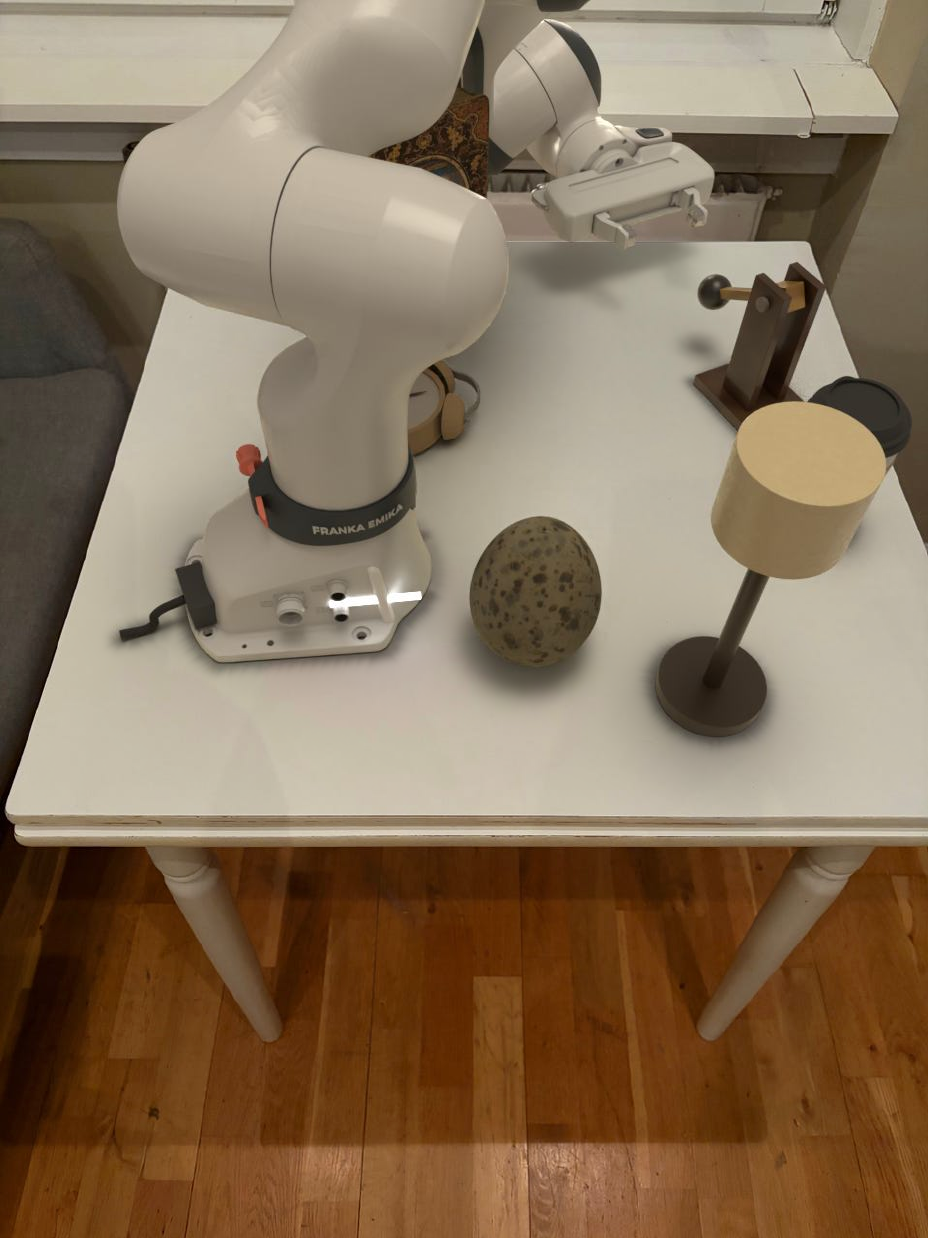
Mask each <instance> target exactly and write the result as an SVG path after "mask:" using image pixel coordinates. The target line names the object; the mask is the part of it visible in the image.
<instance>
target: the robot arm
mask: <svg viewBox="0 0 928 1238" xmlns="http://www.w3.org/2000/svg"><path fill="white" fill-rule="evenodd" d="M590 1H591V0H295V3H294V5H293V7H292V10H291V11H290V14H289V16H288V18H287V20H286V21H285V23H284V25H283V27H282V28H281V30H280V31H279V33H278V34H277V36H276V38H275V39H274V41H272V43H271V44H270V46H269V47H268V49H266V51H265V52H264V53H263V54H262V55H261V56H260V57H259V59H258V60H257V61H256V62H255V63H254V64H253V65H252V66H251V67H250V68H249V70H248V71H247V72H246V73H244V74H243V76H241V77H240V78H239V79H238V80H237V81H236V82H235V83H234V84H233V85H232V86H230V87H229V88H228V89H226V90H225V92H223V93H222V94H221V95H220V96H218V97H217V98H216V99H214V100H213V101H212V102H210V103H208V105H206V106H203V108H200V110H198V111H196V112H195V113H193V114H191V115H189V116H187V117H185V118H183V119H181V120H179V121H177V122H174V123H171V124H168V125H166V126H163V127H160V128H156V129H155V130H153V131H150V132H149V133H147V134H146V135H145V136H144V137H143V138H142V139H141V140H140V141H139V143H138V144H137V145H136V146H135V147H134V149H133V150H132V151H131V153H130V155H129V157H128V158H127V161H126V162H125V164H124V167H123V168H122V171H121V175H120V178H119V182H118V188H117V197H116V212H117V213H116V214H117V223H118V228H119V231H120V236H121V238H122V241H123V245H124V247H125V249H126V251H127V254H128V255H129V257H130V259H131V261H132V263H133V264H134V265H135V267H136V268H137V269H138V270H139V272H141V274H143V275H144V276H146V277H147V278H149V279H150V280H152V281H154V282H156V283H158V284H160V285H162V286H163V287H165V288H168V289H169V290H171V291H173V292H175V293H177V294H179V295H182V296H183V297H186V298H188V299H190V300H192V301H195V302H196V303H199V304H200V305H202V306H205V307H208V308H213V309H215V310H220V311H224V312H229V313H233V314H235V315H241V316H243V317H248V318H253V319H257V320H259V321H260V320H261V321H265V322H269V323H273V324H276V325H281V326H285V327H289V328H290V329H292V330H294V331H296V332H300V333H302V334H303V335H304V336H305V337H304V338H301V339H299V340H298V341H296V342H294V343H292V344H291V345H289V346H288V347H286V348H285V349H283V350H281V351H280V352H279V353H278V354H277V355H276V356H275V357H274V358H273V359H272V360H271V361H270V363H269V364H268V365H267V367H266V368H265V370H264V372H263V374H262V377H261V379H260V383H259V387H258V392H257V398H256V405H257V406H256V407H257V412H258V415H259V420H260V424H261V430H262V434H263V439H264V444H265V448H266V449H265V450H266V453H267V455H266V457H265V458H264V460H262V453H261V450H260V448H259V447H258V446H256V445H255V444H253V443H252V444H251V443H247V444H246V443H245V444H243V445H240V446H239V447H238V448H237V450H236V451H235V459H236V461H237V463H238V470H239V473H241V474H242V475H244V476H246V477H249V478H248V480H247V484H248V485H247V486H248V488H247V489H246V490H244V491H243V492H241V493H240V494H239V495H237V496H236V497H235V498H233V499H232V500H230V501H229V502H227V503H225V504H224V505H223V506H222V507H219V508H218V509H217V510H216V511H214V512H213V513H212V515H211V516H210V517H209V518H208V521H207V522H206V525H205V528H204V530H203V531H204V532H203V537H202V538H199V539H198V540H196V541H195V542H194V543H193V545H192V546H191V548H190V550H189V552H188V554H187V557H186V560H185V562H184V565H183V566H180V567H177V568H175V569H174V570H175V571H174V572H175V575H176V577H177V580H178V583H179V586H180V589H181V592H182V594H181V595H179V596H177V597H175V598H173V599H170V600H168V601H165V602H164V603H161V604H159V605H158V606H157V607H155V608H154V609H153V610H152V611H151V612H150V613H149V615H148V620H149V621H148V622H147V623H146V624H143V625H140V626H134V627H128V628H123V629H119V630H118V633H119V636H120V638H121V640H125V639H128V638H129V639H130V638H134V637H140V636H143V635H147V634H150V633H151V632H153V631H155V630H156V629H157V628H158V627H159V625H160V619H159V618H161V616H163V615H164V614H166V613H168V612H170V611H173V610H175V609H177V608H179V607H181V606H184V605H185V610H186V615H187V619H188V622H189V626H190V628H191V632H192V633H193V636H194V637H195V640H196V641H197V643H198V645H199V646H200V648H201V649H202V650H203V651H204V652H205V653H206V655H208V656H209V657H210V658H211V659H213V660H214V661H216V662H218V663H237V662H252V661H263V660H279V659H290V658H291V659H293V658H304V657H305V658H306V657H319V656H331V655H345V654H347V655H348V654H359V653H374V652H380V651H382V650H384V649H386V648H387V647H388V645H390V643H391V641H392V639H393V637H394V635H395V632H396V630H397V627H398V624H399V623H400V622H401V621H402V620H403V619H404V618H405V617H406V616H407V615H408V614H409V613H410V612H411V611H412V610H413V609H414V608H415V607H416V606H417V605H418V604H420V601H422V598H424V595H425V594H426V592H427V590H428V587H429V585H430V582H431V578H432V574H433V573H432V572H433V570H432V569H433V563H432V558H431V553H430V551H429V548H428V546H427V544H426V542H425V540H424V539H423V536H422V534H421V532H420V531H421V530H420V528H419V525H418V521H417V515H416V511H415V508H416V506H417V505H416V502H417V501H416V500H417V499H416V498H417V494H418V485H417V484H418V483H417V482H418V481H417V467H416V466H417V465H416V460H415V457H414V454H412V452H411V449H410V446H409V443H408V404H409V395H410V391H411V388H412V386H413V384H414V382H415V380H416V379H417V377H418V376H419V375H420V374H421V373H422V372H423V371H424V370H425V369H427V368H428V367H430V366H431V365H432V364H434V363H436V362H438V361H440V360H442V361H444V360H445V359H447V358H451V357H453V356H456V355H457V356H458V355H459V354H461V353H462V352H464V351H466V350H467V349H468V348H470V347H471V346H472V345H473V344H474V343H476V342H477V341H478V340H479V339H480V338H481V337H482V336H483V335H484V334H485V332H486V331H487V330H488V329H489V327H490V326H491V325H492V323H493V321H494V320H495V318H496V317H497V315H498V313H499V311H500V310H501V309H500V308H501V306H502V304H503V301H504V298H505V295H506V292H507V287H508V282H509V274H510V256H509V255H510V253H509V246H508V241H507V236H506V233H505V229H504V227H503V224H502V221H501V219H500V217H499V215H498V212H497V210H496V209H495V208H494V206H493V204H492V202H491V201H490V200H489V199H488V198H487V199H486V198H485V197H483V196H481V195H478V194H476V193H474V192H472V191H470V190H468V189H466V188H464V187H462V186H460V185H458V184H456V183H454V182H451V181H449V180H447V179H444V178H442V177H440V176H438V175H435V174H433V173H431V172H428V171H426V170H424V169H421V168H417V167H412V166H407V165H403V164H398V163H393V162H388V161H383V160H379V159H374V158H369V156H370V155H372V154H373V153H375V152H377V151H379V150H381V149H383V148H385V147H388V146H391V145H394V144H397V143H400V142H403V141H406V140H408V139H411V138H413V137H416V136H417V135H419V134H421V133H423V132H424V131H426V130H427V129H429V128H430V127H431V126H432V125H433V124H434V123H435V122H436V121H437V120H438V119H439V118H440V117H441V116H442V114H443V113H444V112H445V110H446V109H447V107H448V106H449V104H450V103H451V101H452V99H453V96H454V93H455V90H456V87H457V84H458V81H459V78H460V77H461V86H462V88H463V89H464V90H466V91H468V92H470V93H473V94H477V95H478V94H485V95H486V96H487V97H488V99H489V146H488V176H498V175H500V174H501V173H502V171H504V170H505V169H506V168H507V167H508V166H509V165H510V164H511V163H512V162H513V161H514V160H515V158H516V157H518V155H520V154H521V153H522V152H524V151H525V150H526V151H527V152H528V153H529V155H530V156H531V157H532V159H533V160H535V162H536V163H537V164H538V165H539V166H540V167H541V168H542V169H543V170H544V171H545V172H546V173H547V174H549V175H550V176H552V177H555V179H553V180H550V181H549V182H542V183H539V184H537V185H536V186H535V189H533V190H532V191H531V193H530V201H531V202H532V203H533V204H534V205H535V206H536V207H537V208H538V209H539V210H541V211H542V212H543V215H544V218H545V220H546V222H547V223H548V225H549V227H550V228H551V229H552V230H553V232H554V233H555V235H556V236H557V237H558V238H559V239H560V240H562V241H564V242H565V241H566V242H568V243H574V242H578V241H581V240H585V239H588V238H591V237H595V236H596V238H598V239H601V240H605V241H608V242H612V243H615V245H617V246H618V247H619V249H622V250H624V249H627V248H631V247H634V246H635V245H636V240H637V233H636V232H637V231H636V230H635V229H633V228H632V225H635V224H640V223H642V222H647V221H650V220H653V219H656V218H660V217H664V216H667V215H670V214H674V213H677V212H681V211H683V212H685V213H686V212H687V214H686V219H685V222H686V223H687V224H689V225H690V226H691V227H692V228H696V227H701V226H704V225H706V224H707V221H708V216H709V212H708V209H707V208H706V207H705V206H703V205H705V204H707V203H708V202H709V201H710V197H711V195H712V192H713V189H714V183H715V170H714V167H712V166H711V165H710V164H709V163H708V162H707V161H706V160H705V159H704V158H703V157H701V156H700V155H699V154H698V153H696V152H695V151H694V150H692V149H691V148H690V147H688V146H686V145H685V144H683V143H680V142H676V141H673V133H672V132H671V131H670V130H669V129H667V128H665V127H630V126H624V125H614V124H613V123H612V122H610V121H608V120H607V119H604V118H603V117H602V116H601V115H600V113H599V111H598V108H599V107H600V105H601V102H602V73H601V69H600V66H599V63H598V60H597V58H596V56H595V53H594V52H593V49H591V47H590V45H589V44H588V43H587V41H586V40H585V39H584V38H583V37H582V35H580V33H579V32H578V31H576V30H575V29H574V28H573V27H572V26H570V25H569V24H567V23H564V22H561V21H559V20H555V19H549V18H547V17H549V16H550V15H551V13H564V12H565V13H566V12H573V11H580V10H581V9H582V8H583V7H584V6H585V5H586V4H588V3H589V2H590ZM209 634H211V635H209ZM207 635H209V636H207ZM360 637H364V638H363V639H359V638H360Z"/></svg>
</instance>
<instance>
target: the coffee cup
mask: <svg viewBox="0 0 928 1238" xmlns="http://www.w3.org/2000/svg"><path fill="white" fill-rule="evenodd" d="M806 402H809V403H815V404H820V405H824V406H827V407H831V408H833V409H836V410H839V411H841V412H843V413H845V414H847V415H849V416H851V417H852V418H854V419H856V420H857V421H858V422H860V423H861V424H863V425H864V426H865V427H866V428H867V429H868V430H869V431H870V432H871V433H872V434H873V435H874V436H875V437H876V439H877V440H878V442H879V443H880V445H881V447H882V449H883V451H884V455H885V458H886V473H885V477H886V475H888V473H889V471H890V470H891V468H892V467H893V466H894V464H895V462H896V458H897V455H898V454H899V453H901V452H902V451H903V450H905V448H906V446H907V445H908V443H909V442H910V439H911V430H912V425H913V419H912V418H913V417H912V415H911V412H910V409H909V408H908V406H907V404H906V403H905V401H904V400H903V399H902V397H901V395H899V394H898V393H897V391H895V390H894V389H893V388H891V387H889V386H888V385H886V384H884V383H882V382H879V381H877V380H873V379H869V378H861V377H853V376H851V375H844V376H840V377H838V378H837V379H835V380H834V381H832V382H831V383H828V384H825V385H823V386H821V387H820V388H819V389H817V390H816V391H815V392H814V393H813V394H812V395H811V397H809V399H808V400H807V401H806Z"/></svg>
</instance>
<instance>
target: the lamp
mask: <svg viewBox="0 0 928 1238" xmlns="http://www.w3.org/2000/svg"><path fill="white" fill-rule="evenodd" d="M734 438H735V439H734V442H733V445H732V447H731V451H730V452H729V457H728V459H727V462H726V465H725V468H724V471H723V474H722V478H721V479H720V483H719V487H718V490H717V491H716V496H715V498H714V502H713V505H712V506H711V507H712V508H711V512H710V524H711V529H712V532H713V535H714V537H715V539H716V541H717V543H718V544H719V545H720V547H721V549H723V550H724V552H725V553H726V554H727V555H728V556H730V557H731V559H733V561H735V562H736V563H738V564H739V565H741V566H743V567H744V568H746V572H745V574H744V577H743V579H742V582H741V584H740V587H739V589H738V591H737V594H736V595H735V596H736V597H735V599H734V601H733V604H732V606H731V609H730V611H729V613H728V616H727V619H726V621H725V623H724V626H723V628H722V631H721V633H720V636H719V637H717V636H707V635H701V636H693V637H692V636H691V637H689V638H685V639H683V640H680V641H678V642H676V643H675V644H674V645H672V646H671V647H670V648H669V649H668V650H667V651H666V652H665V654H664V655H663V656H662V658H661V661H660V663H659V665H658V670H657V672H656V676H655V682H654V685H655V693H656V697H657V699H658V702H659V704H660V705H661V707H662V709H663V710H664V712H665V714H667V715H668V716H669V718H670V719H671V720H672V721H674V722H675V723H676V724H678V725H679V726H680V727H682V728H683V729H685V730H687V731H689V732H692V733H695V734H698V735H701V736H704V737H705V736H706V737H712V738H713V737H716V738H717V737H718V738H719V737H727V736H733V735H736V734H738V733H740V732H742V731H744V730H746V729H748V728H749V727H750V726H751V725H752V724H753V723H754V722H755V720H757V718H758V716H759V715H760V712H761V711H762V709H763V706H764V704H765V702H766V699H767V694H768V693H767V692H768V685H767V680H766V677H765V676H766V675H765V673H764V671H763V669H762V666H761V665H760V664H759V662H758V661H757V660H756V659H755V657H754V656H753V655H751V654H750V653H749V652H748V651H747V650H745V648H743V647H742V646H740V644H741V642H742V639H743V638H744V635H745V633H746V632H747V631H746V630H747V629H748V626H749V624H750V622H751V620H752V617H753V616H754V613H755V611H756V609H757V606H758V604H759V602H760V599H761V598H762V595H763V593H764V590H765V588H766V586H767V584H768V581H769V579H770V578H775V579H781V580H792V581H793V580H804V579H810V578H813V577H817V576H820V575H822V574H824V573H826V572H828V571H830V570H831V569H832V568H834V567H835V566H836V565H837V564H838V563H839V562H840V561H841V559H842V558H843V556H844V554H845V553H846V551H847V549H848V547H849V545H850V543H851V541H852V540H853V538H854V536H855V533H856V532H857V530H858V528H859V527H860V525H861V523H862V521H863V519H864V517H865V515H866V513H867V511H868V510H869V508H870V507H871V504H872V502H873V500H874V498H875V497H876V495H877V493H878V491H879V489H880V487H881V485H882V484H883V481H884V480H885V477H886V476H885V473H886V458H885V455H884V451H883V449H882V447H881V445H880V443H879V442H878V440H877V439H876V437H875V436H874V435H873V434H872V433H871V432H870V431H869V430H868V429H867V428H866V427H865V426H864V425H863V424H861V423H860V422H858V421H857V420H856V419H854V418H852V417H851V416H849V415H847V414H845V413H843V412H841V411H839V410H836V409H833V408H831V407H827V406H824V405H820V404H815V403H809V402H807V401H804V402H795V401H793V402H781V403H775V404H772V405H768V406H765V407H763V408H760V409H759V410H757V411H755V412H753V413H752V414H751V415H750V416H748V417H747V418H746V419H745V420H744V421H743V423H742V424H741V426H740V428H739V430H737V432H736V436H735V437H734Z"/></svg>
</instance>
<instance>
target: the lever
mask: <svg viewBox="0 0 928 1238" xmlns="http://www.w3.org/2000/svg"><path fill="white" fill-rule="evenodd" d="M775 283H776V282H775ZM776 284H777V285H778V286H780V287H781V288H782V289H783V290H784V291H785V292H786V293H787V294H789V295H790V296H791V297H792V300H791V303H790V306H789V309H788V312H787V313H789V312H792V311H795V310H798V309H801V308H804V307H805V296H804V282H798V281H784V280H781V281H779V282H777V283H776ZM751 290H752V287H739V286H738V287H736V286H732V284H731V281H730V280H729V279H728V278H727V277H726V276H724V275H722V274H720V273H719V274H718V273H714V274H710V275H707V276H706V277H704V278H703V279H702V280H701V282H700V283H699V285H698V287H697V292H696V297H697V299H698V300H697V301H698V302H699V304H700V305H701V306H702V307H703V308H704V309H706V310H710V311H716V310H720V309H722V308H724V307H725V306H727V305H728V304H729V302H730V301H741V302H748V300H749V296H750V293H751Z"/></svg>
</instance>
